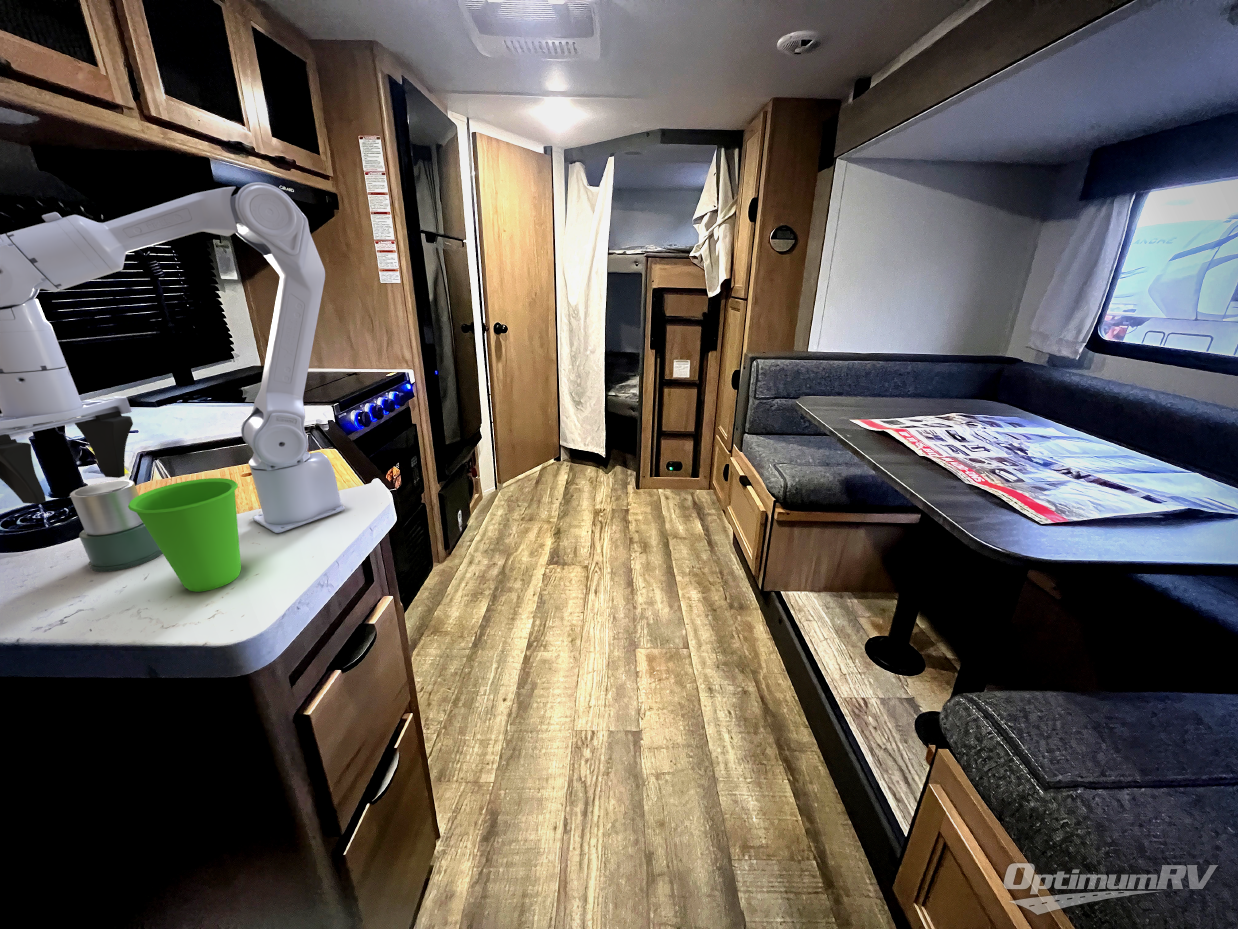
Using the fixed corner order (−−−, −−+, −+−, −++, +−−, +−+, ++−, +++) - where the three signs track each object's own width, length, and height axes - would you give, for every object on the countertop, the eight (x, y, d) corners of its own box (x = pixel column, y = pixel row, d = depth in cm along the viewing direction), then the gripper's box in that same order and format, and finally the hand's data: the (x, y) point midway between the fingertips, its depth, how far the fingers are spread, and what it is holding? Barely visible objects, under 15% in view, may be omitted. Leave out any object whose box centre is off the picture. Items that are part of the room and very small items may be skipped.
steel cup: (140, 512, 62) (127, 476, 61) (153, 522, 59) (139, 485, 58) (81, 528, 58) (64, 489, 56) (92, 540, 55) (75, 500, 53)
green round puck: (157, 538, 65) (146, 508, 63) (175, 553, 61) (163, 521, 60) (83, 560, 59) (70, 528, 58) (98, 578, 56) (83, 544, 54)
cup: (207, 607, 50) (174, 514, 47) (139, 597, 52) (103, 506, 48) (280, 563, 59) (257, 481, 55) (219, 555, 60) (193, 475, 57)
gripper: (79, 359, 57) (119, 465, 62) (-111, 380, 44) (-41, 513, 48) (128, 360, 56) (165, 468, 61) (-50, 382, 43) (15, 518, 47)
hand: (77, 488), depth 55 cm, fingers open, 7 cm apart
